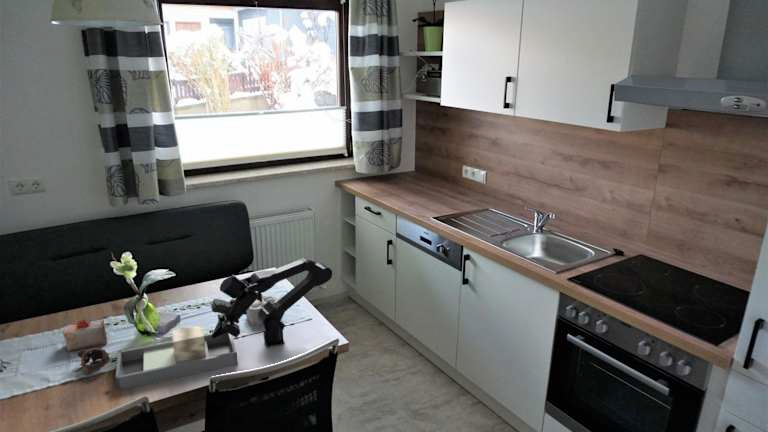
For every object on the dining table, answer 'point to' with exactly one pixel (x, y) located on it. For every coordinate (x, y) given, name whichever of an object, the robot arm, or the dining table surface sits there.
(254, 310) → the lumpy-topped squat cylinder
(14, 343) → the dining table surface
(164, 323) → the stone block
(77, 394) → the dining table surface
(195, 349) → the birch block
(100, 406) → the dining table surface
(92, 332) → the food item
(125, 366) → the grey shallow rectangular tray
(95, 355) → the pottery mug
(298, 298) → the robot arm
